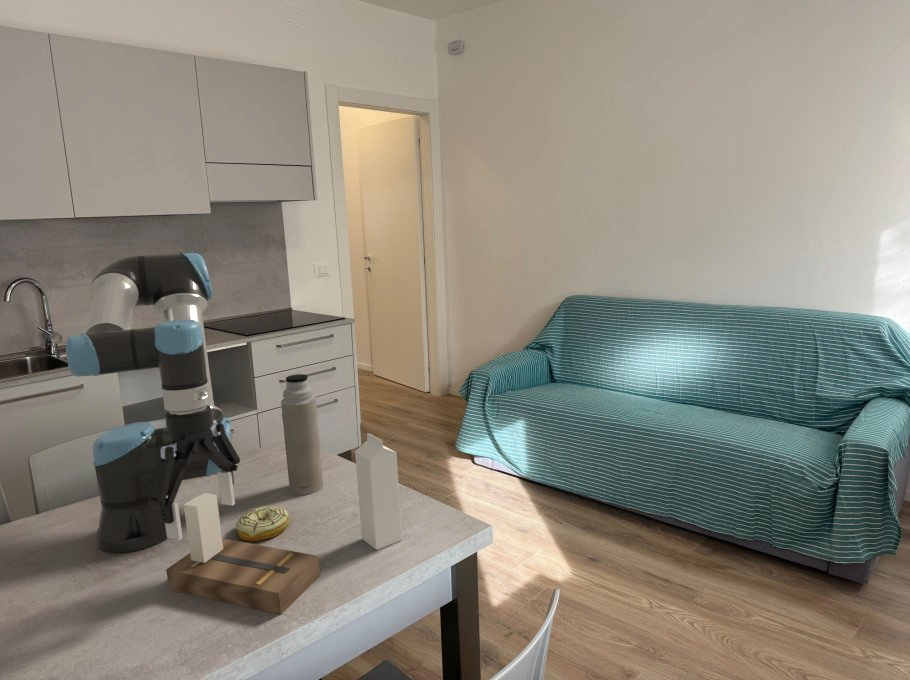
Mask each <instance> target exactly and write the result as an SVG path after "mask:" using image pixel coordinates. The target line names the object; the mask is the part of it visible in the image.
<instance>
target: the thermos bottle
mask: <svg viewBox="0 0 910 680" xmlns="http://www.w3.org/2000/svg"><path fill="white" fill-rule="evenodd" d="M307 380H308V375H307V374H303V373H297V374H292V375H288V376H286V377H285V381H286V382H285V383H286V385H285V387H286V388H285V389H284V390H283V392H282V393H283V394H282V400H281V401H280V405H281V406H280V407H281V415H282V425H283V434H284V435H283V436H284V445H285V455H286V465H287V475H288V484H289V485H288V486H289V492H290V493H292V494H294V495H300V496H303V495H304V496H305V495H310V494H313V493H314V494H315V493H318V492H319V491H320V490H322V489H323V487H324V478H323V477H324V475H323V467H322V459H321V443H320V433H319V432H320V431H319V422H318V420H319V419H318V410H317V408H318V407H317V398H316V397H315V396H314V395H313V394H314V392H313V389H312V387H310V386H309V384H308V381H307Z"/></svg>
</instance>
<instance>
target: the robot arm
mask: <svg viewBox="0 0 910 680" xmlns="http://www.w3.org/2000/svg"><path fill="white" fill-rule="evenodd" d="M88 295H89V299H90V301H91V307H90V310H89V315H88V319H87V323H86V328H85V331H84V333H80V334H75V335H71V336H68V338H67V339H66V342H65V352H66V353H65V355H66V361H67V366H68V369H69V371H70V373H71V374H72V375H73V376H75V377H92V376H93V377H99V376H102V375H103V376H104V375H109V374H118V373H119V374H120V373H125V372H133V371H142V370H152V369H158V370H159V374H160V375H159V376H160V381H161V392H162V399H163V407H164V410H165V411H166V412H165V427H161V428H155V426H154V424H153V423H152V422H151V421H143V422H142V421H136V422H132V423H131V422H130V423H128V424H127V423H126V424H124V425H121V426H118V427H115V428H113V429H110V430H108V431H106V432H104V433H102V434H101V435H100V436H99V437H97V438H96V439H95V440H94V442H93V445H92V454H93V461H92V465H94V469H95V475H96V481H97V487H98V492H99V498H100V499H99V500H100V504H101V505H100V506H101V510H100V517H99V521H98V528H97V530H96V541H97V546H98V548H99V549H100V550H101V551H102V550H103V551H104V552H108V553H116V554H117V553H130V552H136V551H140V550H143V549H147V548H149V547H153V546H155V545H157V544H159V543H160V542H161V543H162V542H163V541H165V540H167V539H171V540H177V541H180V540H182V539H183V538H184V537H183V530H182V524H181V518H180V517H181V515H180V510H179V503H178V502H175V500H176V497H177V494H178V492H179V490H180V487H181V484H182V482H183V481H187V480H192V479H198V478H204V477H207V478H209V477H210V476H213V475H217V480H218V490H219V496H220V497H219V498H220V504H221V505H227V506H233V507H234V505H236V500H235V491H234V485H235V477H234V472H236V471H237V470H238V465H239V463H240V462H241V459H240V456H239V454H238V453H237V451H236V450H235V448H234V446H233V445H232V444H233V443H232V442H231V425H232V424H231V418H229V417H224V416H223V414H224V413H223V410H222V409H221V408H219V407H217V406H216V405H215V402H214V395H213V394H214V393H213V388H212V387H213V386H212V381H211V373H210V367H209V366H210V365H209V358H208V349H207V341H206V335H205V327H204V321H203V320H204V319H203V312H204V311H206V309H207V308H208V302H209V301H211V300H213V295H214V294H213V288H212V283H211V279H210V274H209V271H208V268H207V265H206V262H205V259H204V258H203V256H202V255H201V254H199V253H196V252H179V253H166V254H165V253H164V254H150V255H147V254H146V255H131V256H128V257H123V258H121V259H118V260H116V261H113V262H111V263H110V264H108V265H107V266H105V267H103V269H101V270H100V271H99V272H98V273H97V274H96V275H95V276H94V277H93V279H92V281H91V284H90V287H89V294H88ZM142 306H145V307H146V306H153V309H154V312H155V313H156V314H158V315H159V316H161V318H162V322H161V323H157V324H156V325H155V326H152V327H145V328H135V329H134V328H131V327H132V315H133V308H134V307H142Z"/></svg>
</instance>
